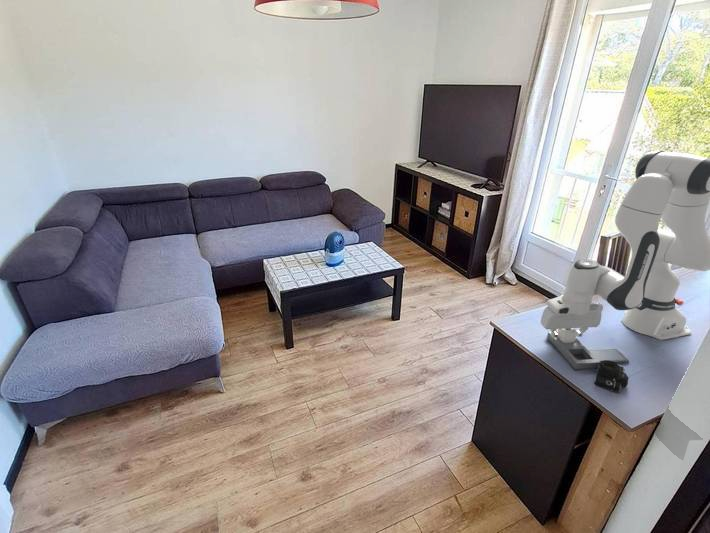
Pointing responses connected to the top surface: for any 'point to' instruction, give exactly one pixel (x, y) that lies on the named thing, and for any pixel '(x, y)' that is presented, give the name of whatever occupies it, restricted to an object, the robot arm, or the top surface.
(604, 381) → the film camera
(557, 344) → the power strip
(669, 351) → the top surface
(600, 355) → the plate
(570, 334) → the charger
